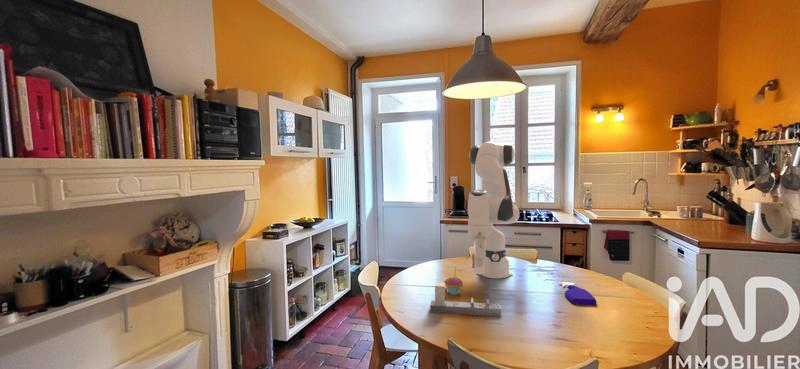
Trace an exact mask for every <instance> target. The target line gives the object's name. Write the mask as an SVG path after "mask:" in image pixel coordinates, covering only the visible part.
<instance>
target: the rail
mask: <svg viewBox="0 0 800 369" xmlns="http://www.w3.org/2000/svg"><path fill="white" fill-rule="evenodd" d="M474 300H475V298H474V297H471V298H470V302H468V301H448V289H447V286H445V282H435V285H434V300H431V301H430V305H429V308H430V313H434V314H450V315H465V316H467V315H470V316H485V317H486V316H488V317H502V308H501V305H500V303H490V302H489V301H490V300H489V298H485V302H475V301H474Z"/></svg>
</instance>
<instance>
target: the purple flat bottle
mask: <svg viewBox="0 0 800 369" xmlns="http://www.w3.org/2000/svg"><path fill="white" fill-rule="evenodd" d="M558 285H559V286H561V288H563V287H566V288H567V290H566V291H565V292H564V295H565V297H566V299H567V300H568V301H570V303H571V304H574V305H576V304H577V305H578V306H596V305H597V303H598V302H597V300H596V298H595V296H593V295H592V294H591V293H590V292H589V291H588V290H586V289H585V288H581V287H579V286H577V285H576V283H575V282H564V281H562V282H558ZM577 305H576V306H577Z"/></svg>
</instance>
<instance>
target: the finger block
mask: <svg viewBox="0 0 800 369" xmlns="http://www.w3.org/2000/svg"><path fill="white" fill-rule="evenodd" d="M471 261H472V262H471V264H472V265H471V267H472V269H473V272H474V273H473V274H476V275H479V274H485V260H483V261H482V267H478V262H477V259H476V256H475V250H474V251H473V253H471Z"/></svg>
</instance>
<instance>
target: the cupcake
mask: <svg viewBox="0 0 800 369" xmlns="http://www.w3.org/2000/svg"><path fill="white" fill-rule="evenodd" d="M456 272H457V268H456V266H455V267H454V271H453V273H454V275H453V277H449V278H447V279H446V280H445V281H444V283H445V286H447V293H448V294H449V293H450V295H452V294H453V296H454V295H455V296H456V295H458V294H460V290H461V288H463V285H464V283H463V281H462V279H460V278H458V277H456V274H457V273H456Z"/></svg>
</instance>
